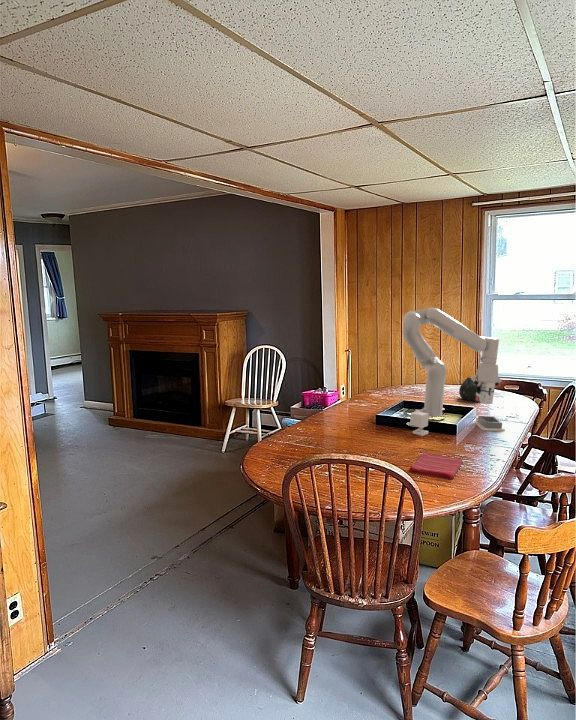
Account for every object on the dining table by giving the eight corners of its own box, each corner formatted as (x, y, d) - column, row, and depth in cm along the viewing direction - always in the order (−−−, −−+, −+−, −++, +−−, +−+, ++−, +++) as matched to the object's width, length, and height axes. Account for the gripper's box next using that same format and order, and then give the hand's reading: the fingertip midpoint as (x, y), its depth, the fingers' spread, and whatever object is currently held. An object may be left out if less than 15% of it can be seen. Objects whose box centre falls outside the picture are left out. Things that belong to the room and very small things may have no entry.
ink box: (474, 400, 289) (477, 378, 287) (482, 400, 291) (485, 378, 289) (484, 404, 281) (487, 382, 279) (492, 403, 283) (495, 382, 281)
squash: (492, 392, 331) (479, 372, 336) (479, 396, 321) (466, 376, 327) (476, 404, 341) (463, 384, 346) (463, 408, 331) (450, 387, 337)
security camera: (416, 430, 265) (417, 410, 264) (428, 433, 260) (430, 413, 259) (409, 432, 261) (410, 412, 259) (421, 436, 256) (423, 415, 254)
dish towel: (407, 473, 209) (408, 466, 208) (421, 455, 230) (422, 449, 229) (452, 482, 201) (453, 475, 201) (463, 463, 222) (463, 457, 222)
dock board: (482, 430, 269) (483, 422, 268) (474, 422, 282) (475, 415, 281) (504, 430, 268) (505, 423, 268) (495, 423, 281) (496, 416, 281)
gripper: (474, 360, 279) (470, 394, 282) (507, 362, 278) (503, 396, 281) (470, 358, 286) (466, 391, 289) (502, 360, 286) (498, 393, 288)
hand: (484, 393), depth 285 cm, fingers closed on ink box, 6 cm apart
